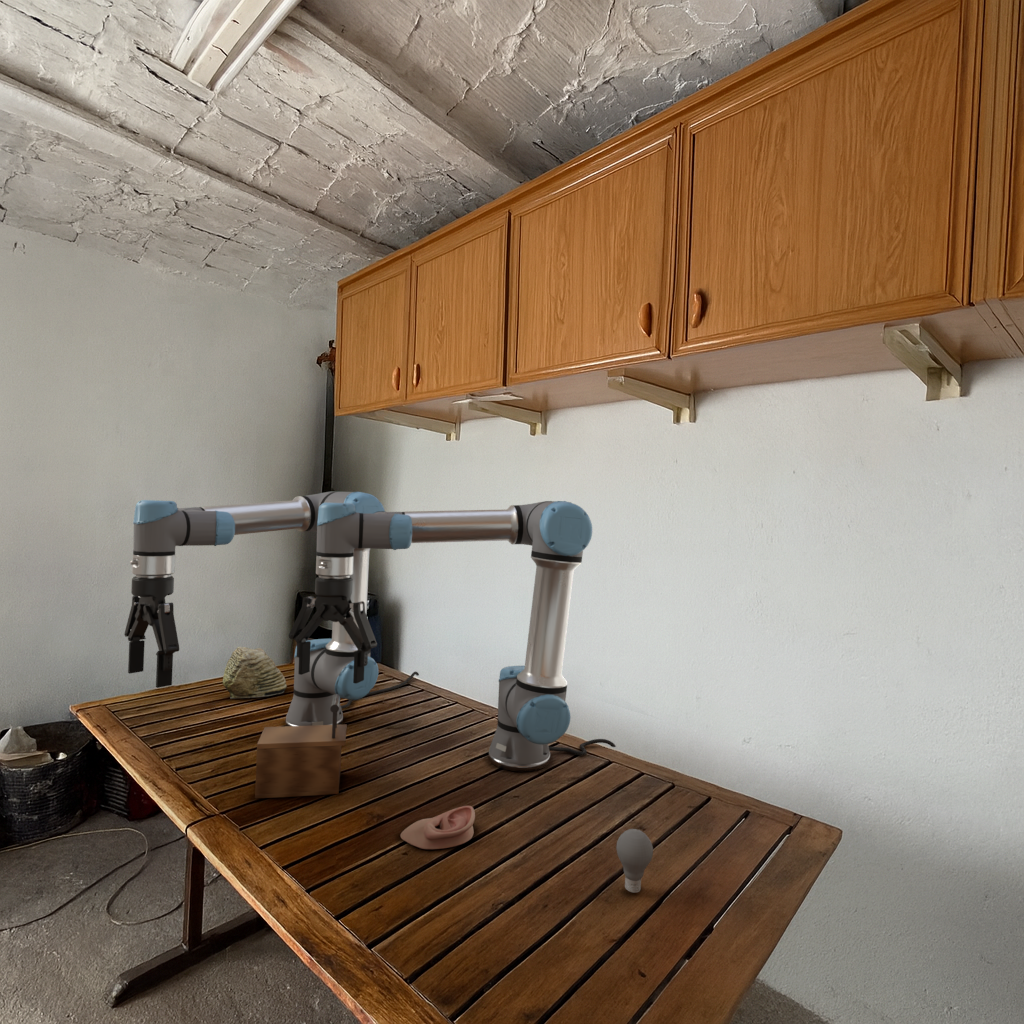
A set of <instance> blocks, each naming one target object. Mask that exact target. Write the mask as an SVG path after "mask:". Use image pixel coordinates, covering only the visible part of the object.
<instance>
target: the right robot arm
mask: <svg viewBox="0 0 1024 1024" xmlns="http://www.w3.org/2000/svg"><path fill="white" fill-rule="evenodd" d="M592 537H593V523H592V520H591V518H590V516H589V515H588V513H587V512H586V511H585V510H584V509H583V508H582V507H581V506H580V505H578V504H576V503H572V502H571V501H566V500H544V501H539V502H534V503H527V504H515V505H514V504H512V505H509V507H508V508H507V509H469V510H468V509H467V510H465V509H461V510H417V511H416V510H413V511H409V510H408V511H378V512H375V513H372V514H365V513H357V512H356V510H355V505H354V504H351V503H323V504H321V505H320V506H319V510H318V522H317V531H316V557H315V558H316V561H315V574H316V575H317V577H316V578H315V583H314V593H315V595H316V597H315V596H314V595H310V596H304V597H303V598H302V602H301V608H300V610H299V612H298V615H297V616H296V619H295V621H294V623H293V626H292V628H291V629H290V632H289V634H288V638H289V639H290V640H294V641H295V642H296V646H297V657H299V674H300V675H302V674H305V673H307V672H310V646H311V642H310V641H308V640H310V637H312V635H313V633H314V632H315V631H316V630H317V629H318V627H319V626H320V625H321V624H322V622H323V621H324V622H328V621H330V622H332V623H333V622H338V621H339V623H340V624H341V625H343V627H344V628H345V630H346V631H347V633H348V635H349V636H350V638H351V639H352V641H353V642H354V644H355V646H356V647H357V649H358V650H357V651H354V677H353V683H356V684H357V683H359V682H361V681H363V680H364V666H366V665H367V663H368V650H369V649H371V650H372V649H374V648H377V646H378V642H377V640H376V636H375V634H374V631H373V629H372V627H371V624H370V621H369V618H368V615H367V613H365V603H364V602H363V601H361V602H357V603H352V601H351V595H352V587H353V579H352V578H351V577H350V576H351V575H352V574H353V559H354V548H371V549H370V550H373V549H374V550H393V551H397V550H407V549H410V547H411V546H412V544H429V543H430V544H432V543H463V542H464V543H466V542H467V543H468V542H472V543H473V542H502V541H507V542H509V543H510V544H511V545H524V546H525V545H526V546H531V552H530V558H531V560H532V561H533V562H534V564H535V566H536V567H535V575H534V586H533V593H532V602H531V608H530V609H531V610H530V618H529V625H528V626H529V627H528V634H527V635H528V636H527V644H526V651H525V652H526V653H525V661H524V665H508V666H504V667H503V668H501V670H500V671H499V676H498V677H499V678H498V697H497V699H498V700H497V701H498V702H497V722H496V723H497V724H496V730H495V732H494V735H493V738H492V740H491V742H490V746H489V749H488V761H489V762H490V763H491V764H492V765H493V766H495V767H497V768H500V769H503V770H506V771H511V772H535V771H537V770H542V769H544V768H545V767H547V766H549V764H550V763H551V752H564V753H570V754H572V755H575V756H579V757H582V756H586V755H587V753H588V752H587V749H586V748H585V747H587V746H590V745H593V744H607V745H609V746H610V747H612V748H616V747H617V746H616V744H615V743H614V742H613V741H611V740H608V739H607V738H606V739H605V738H595V739H591V740H586V741H584V742H582V743H580V744H579V749H580V751H578V750H575V749H573V748H569V747H561V746H549V745H550V744H552V743H555V742H557V741H558V740H559V739H560V738H562V737H563V736H564V735H565V733H566V732H567V731H568V728H569V726H570V724H571V710H570V706H569V704H568V703H567V702H566V699H567V690H568V680H566V678H565V677H564V675H563V666H564V659H565V658H564V657H565V651H566V650H565V648H566V643H567V642H566V641H567V634H568V633H567V631H568V625H569V624H568V623H569V616H570V615H569V614H570V606H571V600H572V599H571V597H572V590H573V589H572V588H573V582H574V581H573V580H574V573H575V570H576V569H577V568H578V567H579V566H581V565H582V562H583V554H584V550H585V549H586V548H588V546H589V544H590V543H591V541H592ZM314 607H315V608H316V612H315V613H314V614H313V615H312V617H311V619H310V620H309V618H310V616H311V614H312V612H313V609H314ZM351 609H352V612H353V613H354V617H355V620H356V623H357V625H358V627H357V625H356V623H355V622H354V618H353V616H352V615H351V613H350V610H351ZM345 617H346V618H345ZM306 641H307V642H306Z"/></svg>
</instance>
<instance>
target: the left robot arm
mask: <svg viewBox="0 0 1024 1024" xmlns="http://www.w3.org/2000/svg"><path fill="white" fill-rule="evenodd" d="M323 503H351V504H354V505H355V510H356V512H357V513H365V514H372V513H375V512H378V511H385V508H384V505H383V503H382V502H381V501H380V499H379V498H377V497H376V496H375V495H373V494H371V493H367V492H363V491H337V490H336V491H335V490H333V491H326V492H320V493H315V494H314V493H313V494H307V495H298V496H297V495H296V496H295V497H294V498H293V499H292V500H279V501H278V500H277V501H264V502H263V501H262V502H249V503H233V504H221V505H220V504H219V505H207V506H191V507H178V504H177V502H176V501H174V500H155V499H141V500H139V501H138V502H136V504H135V506H134V507H135V508H134V515H133V520H132V521H133V523H132V524H133V550H132V560H130V565H132V571H131V572H132V574H133V575H134V576H133V577H132V578H131V592H130V593H131V595H132V596H131V597H132V598H131V606H130V611H129V615H128V619H127V622H126V625H125V630H124V637H125V638H127V640H128V665H127V673H128V674H137V673H141V672H144V666H145V665H144V664H145V644H146V643H145V642H146V641H145V640H146V639H147V638H146V635H145V634H146V632H147V629H148V627H149V626H150V627H152V630H153V635H154V638H155V641H156V645H157V648H158V650H157V652H156V653H155V655H156V670H155V672H156V673H155V674H156V675H155V688H157V689H159V688H163V687H170V686H172V685H173V665H174V654H175V653H176V652H179V651H180V643H179V638H178V633H177V626H176V621H175V613H174V612H175V611H174V609H175V608H174V603H173V602H166V597H167V596H171V595H173V594H174V588H175V578H174V576H172V575H173V574H175V571H176V570H175V569H176V547H183V546H189V547H191V546H194V547H195V546H196V547H197V546H198V547H200V546H214V547H217V546H224V545H225V546H226V545H228V544H230V543H231V542H233V539H234V537H235V536H237V535H248V534H249V535H250V534H259V533H267V532H279V531H288V530H296V531H297V532H300V533H303V532H317V522H318V510H319V506H320V505H321V504H323ZM385 512H386V511H385ZM371 550H372V549H371V548H354V559H353V574H352V575H351V576H350V577H351V578H352V579H353V587H352V595H351V601H352V603H357V602H361V601H363V602H364V603H365V613H366V614H368V613H367V612H368V611H367V609H368V590H369V588H368V587H369V567H370V551H371ZM350 613H351V615H352V616H353V618H354V622H355V623H356V620H355V617H354V613H353V612H352V609H351V610H350ZM345 618H346V617H345ZM356 625H357V623H356ZM357 627H358V625H357ZM331 630H332V631H331V638H318V639H309V640H306V642H307V641H310V642H311V646H310V672H307V673H305V674H302V675H300V674H299V657H297V645H296V646H295V650H294V655H293V657H294V672H293V673H294V674H293V695H292V696H293V697H292V699H291V702H290V704H289V708H288V711H287V713H286V715H285V726H313V725H332V722H333V712H331V710H330V708H331V702H332V697H333V695H335V694H338V695H339V696H340V699H342V700H343V699H344V700H347V703H346V704H345V703H344V704H340V705H339V710H338V712H337V725H342V723H343V722H344V714H343V709H347V708H349V707H350V706H351V704H352V702H353V701H357V700H360V699H362V698H364V697H369V696H372V695H373V696H374V695H376V694H381V693H386V692H390V691H393V690H396V689H399V688H402V687H403V686H405V685H407V684H408V683H409V682H410V680H412V679H413V678H414V676H420V674H419V672H418V671H413V672H412V673H411V674H410V675H409V677H407V678H406V679H405V681H403V682H401V683H399V684H398V683H397V684H396V685H393V686H389V687H385V688H381V689H378V690H373V688H374V687H375V685H376V683H377V681H378V677H379V666H378V663H377V662H376V661H375V659H374V658H373V657H371V652H372V649H369V650H368V663H367V665H366V666H364V680H363V681H361V682H359V683H357V684H356V683H353V677H354V651H357V650H358V649H357V647H356V646H355V644H354V642H353V641H352V639H351V638H350V636H349V635H348V633H347V631H346V630H345V628H344V627H343V625H341V624H340V623H339V621H338V622H333V621H332V629H331ZM371 690H372V691H371Z"/></svg>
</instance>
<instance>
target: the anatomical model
mask: <svg viewBox="0 0 1024 1024" xmlns="http://www.w3.org/2000/svg"><path fill="white" fill-rule="evenodd" d="M475 820H476V812H475V809H474V807H473V806H471V805H463V806H459V807H455V808H452V809H450V810H447V811H445V812H443V813H440V814H439V815H436V816H434V817H427V818H422V819H419V820H417V821H415V822H413V823H412V824H410V825H409V826H407V827H406V828H405V829H404V830H402V832H401V833H400V835H399V836H400V838H401V840H403V841H404V842H406V843H408V844H409V845H411V846H413V847H416V848H419V849H422V850H440V849H447V848H454V847H457V846H460V845H463V844H465V843H467V842H469V841H471V839H472V838H473V836H474V833H475V832H474V826H473V824H474V823H475Z"/></svg>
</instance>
